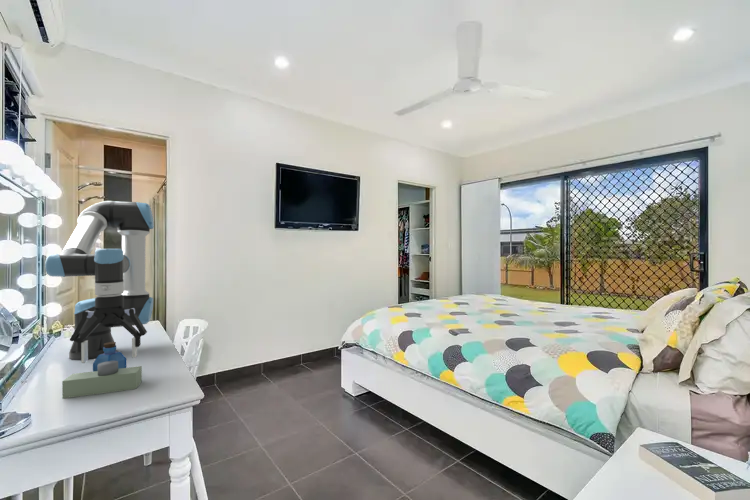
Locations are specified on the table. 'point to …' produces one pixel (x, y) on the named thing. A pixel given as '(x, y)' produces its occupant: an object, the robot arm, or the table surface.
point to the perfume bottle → (110, 356)
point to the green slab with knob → (102, 380)
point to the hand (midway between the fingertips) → (110, 359)
